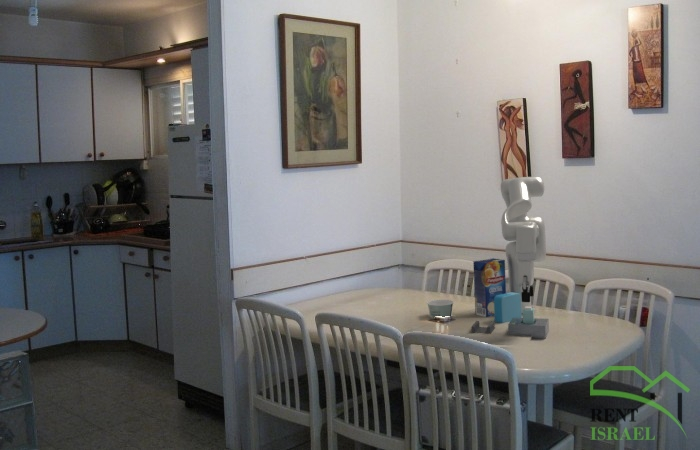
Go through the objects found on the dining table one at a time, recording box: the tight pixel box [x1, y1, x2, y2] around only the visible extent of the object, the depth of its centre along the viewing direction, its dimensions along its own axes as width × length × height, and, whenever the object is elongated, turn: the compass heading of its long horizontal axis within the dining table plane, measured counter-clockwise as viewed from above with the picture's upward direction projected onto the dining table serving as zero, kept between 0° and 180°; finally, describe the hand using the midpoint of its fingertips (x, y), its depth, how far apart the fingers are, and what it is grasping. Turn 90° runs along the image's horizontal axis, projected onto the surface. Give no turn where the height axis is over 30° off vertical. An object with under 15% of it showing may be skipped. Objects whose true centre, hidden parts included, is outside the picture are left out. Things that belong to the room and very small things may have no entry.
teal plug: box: [522, 306, 535, 323], centre depth 287 cm, size 4×4×11 cm
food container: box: [426, 299, 455, 319], centre depth 326 cm, size 12×12×6 cm
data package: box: [494, 291, 523, 324], centre depth 308 cm, size 12×4×12 cm, turn 126°
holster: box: [470, 320, 496, 334], centre depth 293 cm, size 10×8×4 cm
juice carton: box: [473, 258, 507, 318], centre depth 325 cm, size 12×8×24 cm, turn 122°
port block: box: [507, 317, 550, 340], centre depth 287 cm, size 12×14×6 cm
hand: (527, 299), depth 287 cm, fingers open, 9 cm apart
